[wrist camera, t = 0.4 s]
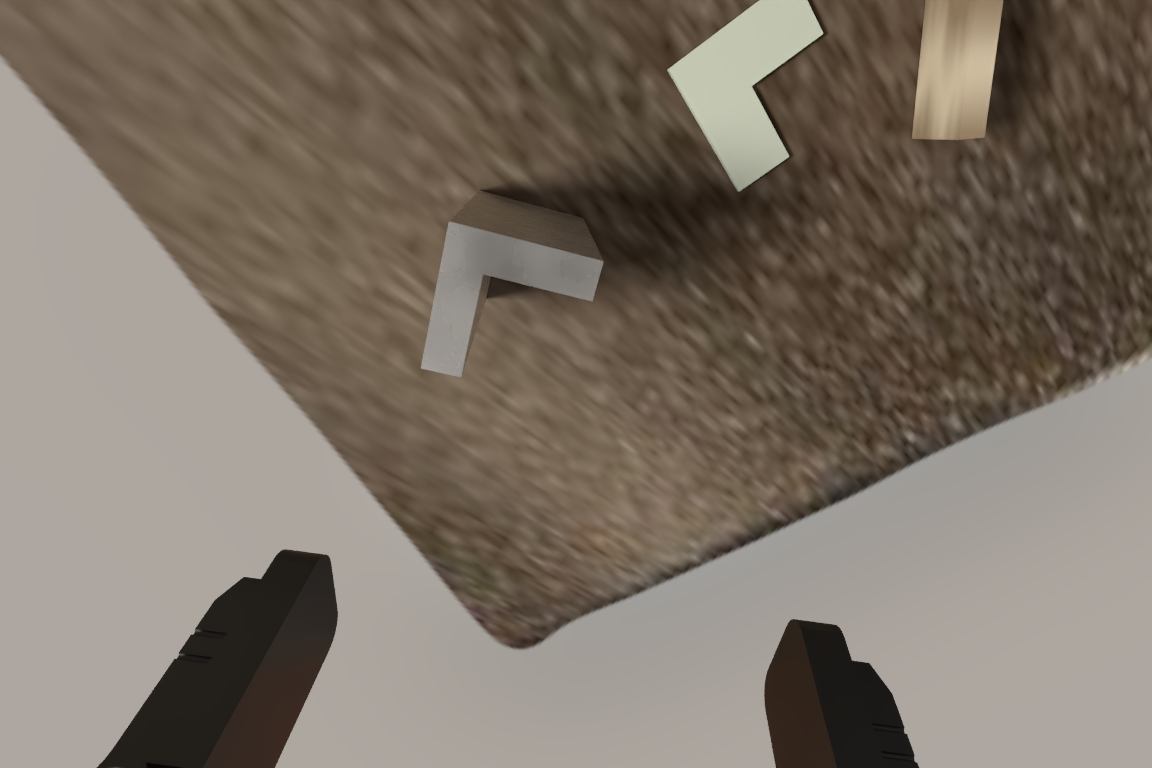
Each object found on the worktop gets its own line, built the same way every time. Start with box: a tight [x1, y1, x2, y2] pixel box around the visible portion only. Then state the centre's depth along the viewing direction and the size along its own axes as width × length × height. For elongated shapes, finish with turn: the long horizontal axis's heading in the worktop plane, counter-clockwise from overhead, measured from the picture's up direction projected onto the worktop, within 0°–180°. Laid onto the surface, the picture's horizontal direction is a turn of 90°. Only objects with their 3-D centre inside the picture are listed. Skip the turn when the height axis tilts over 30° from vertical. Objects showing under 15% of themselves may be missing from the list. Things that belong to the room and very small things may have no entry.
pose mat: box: [667, 0, 823, 192], centre depth 32 cm, size 7×7×1 cm
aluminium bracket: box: [421, 190, 604, 377], centre depth 29 cm, size 6×6×12 cm
